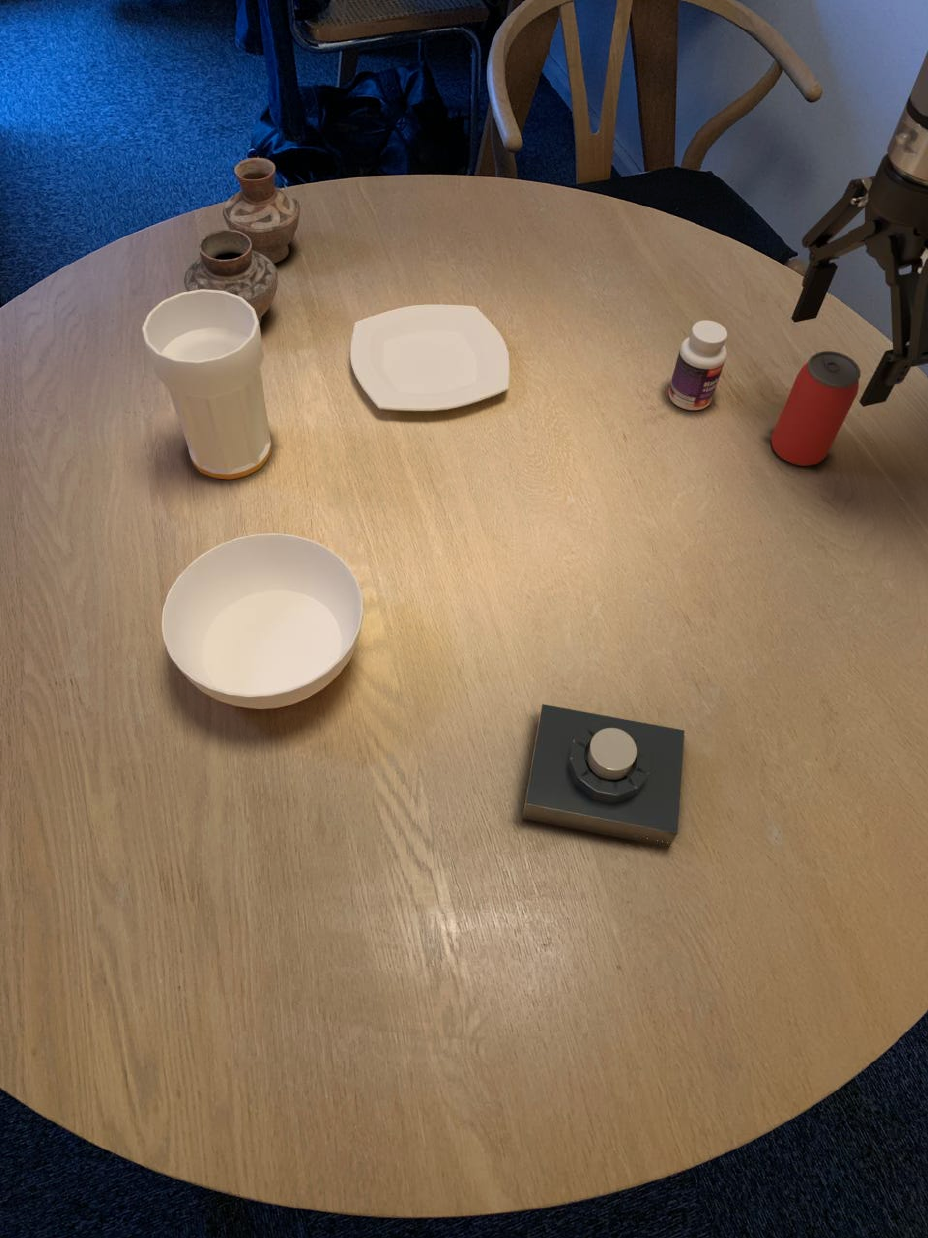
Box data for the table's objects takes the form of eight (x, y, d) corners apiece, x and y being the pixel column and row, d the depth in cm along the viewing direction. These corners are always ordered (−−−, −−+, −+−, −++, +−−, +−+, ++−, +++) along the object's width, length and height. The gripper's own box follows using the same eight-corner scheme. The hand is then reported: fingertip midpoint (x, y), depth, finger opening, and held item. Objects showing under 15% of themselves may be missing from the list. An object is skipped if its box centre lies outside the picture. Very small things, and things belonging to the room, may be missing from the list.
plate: (526, 408, 112) (527, 395, 110) (367, 432, 108) (366, 419, 107) (485, 308, 122) (486, 295, 120) (339, 327, 119) (337, 314, 117)
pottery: (315, 235, 130) (306, 151, 120) (272, 353, 116) (258, 269, 106) (235, 227, 130) (220, 142, 120) (183, 343, 116) (160, 258, 106)
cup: (163, 474, 104) (120, 348, 89) (206, 406, 110) (172, 279, 96) (258, 497, 102) (230, 373, 88) (296, 427, 109) (276, 300, 94)
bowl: (406, 656, 91) (405, 614, 85) (255, 773, 84) (242, 736, 78) (289, 548, 98) (280, 503, 92) (141, 648, 91) (120, 605, 85)
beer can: (812, 425, 112) (849, 343, 102) (835, 464, 108) (876, 384, 98) (760, 432, 111) (793, 350, 101) (783, 472, 107) (819, 392, 97)
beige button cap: (634, 743, 82) (639, 732, 80) (630, 784, 79) (635, 774, 78) (589, 734, 82) (592, 723, 80) (584, 775, 80) (587, 765, 78)
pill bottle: (702, 417, 112) (723, 352, 104) (660, 401, 113) (678, 335, 105) (718, 391, 114) (740, 326, 106) (677, 375, 116) (696, 309, 108)
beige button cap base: (676, 746, 87) (689, 720, 83) (669, 847, 81) (682, 825, 77) (538, 720, 88) (544, 694, 84) (522, 818, 82) (527, 795, 78)
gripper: (815, 98, 87) (748, 292, 104) (980, 256, 74) (871, 448, 91) (883, 88, 88) (806, 281, 106) (1056, 241, 75) (935, 432, 93)
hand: (836, 358), depth 98 cm, fingers open, 13 cm apart
